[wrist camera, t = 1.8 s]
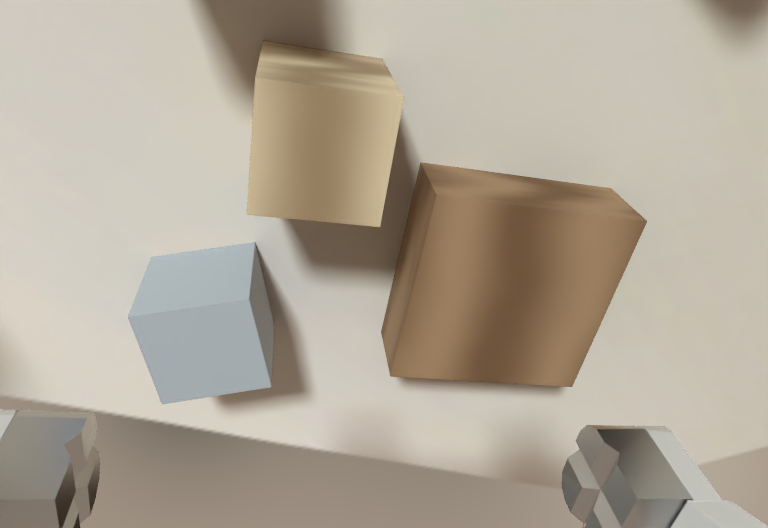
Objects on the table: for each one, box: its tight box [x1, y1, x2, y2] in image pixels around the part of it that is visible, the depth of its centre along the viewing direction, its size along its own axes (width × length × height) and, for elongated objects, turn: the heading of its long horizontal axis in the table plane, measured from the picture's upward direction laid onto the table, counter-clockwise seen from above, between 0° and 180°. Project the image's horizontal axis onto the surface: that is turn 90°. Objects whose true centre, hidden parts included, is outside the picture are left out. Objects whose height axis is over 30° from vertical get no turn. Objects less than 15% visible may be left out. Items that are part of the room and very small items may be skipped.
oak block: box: [247, 41, 404, 227], centre depth 24 cm, size 5×5×6 cm
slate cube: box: [128, 242, 274, 404], centre depth 28 cm, size 5×5×5 cm
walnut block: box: [381, 163, 647, 387], centre depth 30 cm, size 10×10×4 cm
